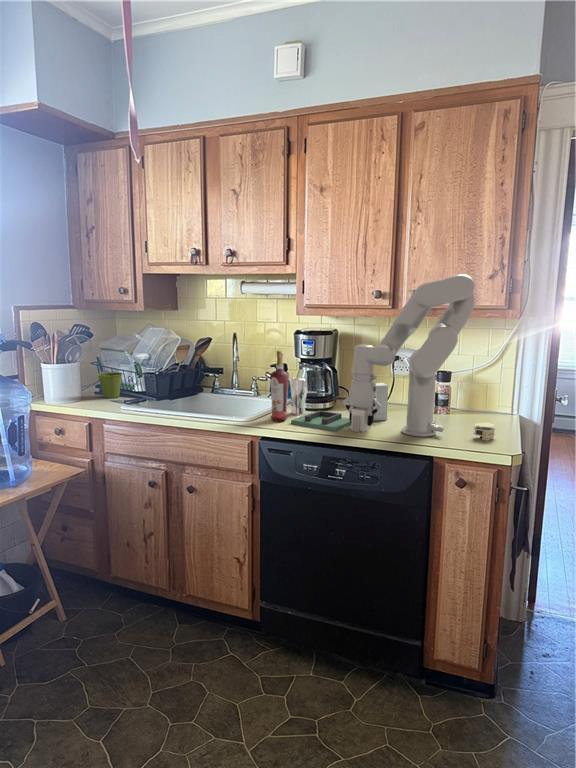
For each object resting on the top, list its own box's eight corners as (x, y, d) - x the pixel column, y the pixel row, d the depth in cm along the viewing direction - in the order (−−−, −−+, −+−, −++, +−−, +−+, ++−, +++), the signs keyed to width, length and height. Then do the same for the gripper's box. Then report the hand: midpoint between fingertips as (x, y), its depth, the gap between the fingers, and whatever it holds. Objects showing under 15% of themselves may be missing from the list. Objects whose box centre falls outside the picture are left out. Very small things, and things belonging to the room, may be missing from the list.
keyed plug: (370, 428, 202) (371, 407, 201) (361, 432, 195) (362, 411, 194) (358, 426, 205) (359, 406, 203) (349, 430, 198) (350, 410, 196)
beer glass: (288, 412, 227) (288, 377, 224) (302, 411, 229) (303, 377, 227) (293, 415, 220) (294, 380, 218) (309, 414, 223) (310, 379, 220)
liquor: (291, 420, 213) (293, 351, 208) (280, 423, 207) (281, 352, 202) (278, 417, 217) (278, 349, 213) (266, 420, 212) (266, 351, 207)
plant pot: (116, 393, 261) (115, 371, 259) (128, 397, 253) (127, 374, 251) (93, 396, 252) (92, 373, 251) (105, 400, 244) (104, 376, 243)
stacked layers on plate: (481, 434, 197) (482, 420, 196) (503, 440, 189) (504, 425, 189) (464, 438, 191) (465, 424, 190) (486, 444, 184) (487, 429, 183)
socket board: (354, 423, 210) (355, 414, 209) (336, 431, 196) (336, 422, 196) (311, 416, 220) (311, 407, 220) (291, 423, 207) (291, 415, 206)
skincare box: (381, 417, 220) (383, 382, 218) (387, 420, 215) (389, 384, 212) (362, 417, 219) (364, 382, 216) (367, 421, 213) (369, 385, 210)
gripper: (388, 378, 196) (386, 425, 199) (346, 374, 205) (345, 418, 208) (380, 381, 189) (378, 429, 193) (337, 376, 199) (336, 422, 202)
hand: (361, 423), depth 200 cm, fingers open, 6 cm apart
